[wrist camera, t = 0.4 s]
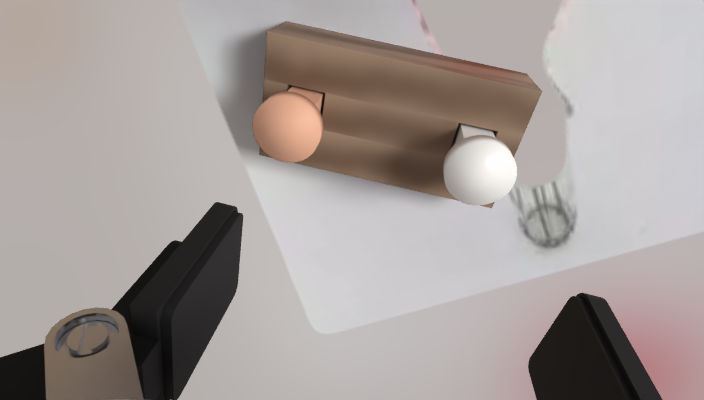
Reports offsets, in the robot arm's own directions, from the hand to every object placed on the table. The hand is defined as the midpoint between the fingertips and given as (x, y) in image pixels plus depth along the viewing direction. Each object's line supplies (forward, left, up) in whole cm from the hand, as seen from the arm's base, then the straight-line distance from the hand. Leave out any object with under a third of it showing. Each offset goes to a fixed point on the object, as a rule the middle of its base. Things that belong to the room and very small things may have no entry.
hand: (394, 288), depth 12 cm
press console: (+6, -1, -34) cm, 34 cm away
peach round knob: (+6, -9, -29) cm, 31 cm away
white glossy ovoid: (+6, +7, -29) cm, 31 cm away
